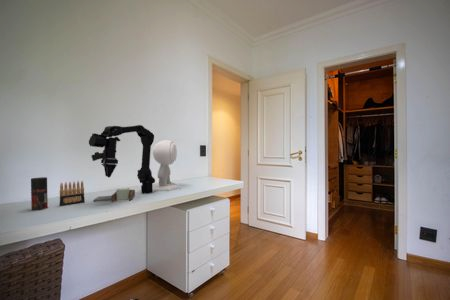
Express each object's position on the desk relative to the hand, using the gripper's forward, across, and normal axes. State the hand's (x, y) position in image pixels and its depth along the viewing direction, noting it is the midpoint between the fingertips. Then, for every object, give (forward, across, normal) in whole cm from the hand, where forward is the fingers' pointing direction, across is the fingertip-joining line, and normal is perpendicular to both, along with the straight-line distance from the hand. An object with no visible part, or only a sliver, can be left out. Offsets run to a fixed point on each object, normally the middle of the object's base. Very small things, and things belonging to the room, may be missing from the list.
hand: (107, 176), depth 115 cm
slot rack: (+13, -4, +10) cm, 16 cm away
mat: (+13, -9, 0) cm, 16 cm away
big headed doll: (+9, -21, +40) cm, 46 cm away
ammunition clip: (+15, -7, -14) cm, 22 cm away
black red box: (+16, -6, -27) cm, 32 cm away
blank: (+13, -2, +9) cm, 16 cm away
